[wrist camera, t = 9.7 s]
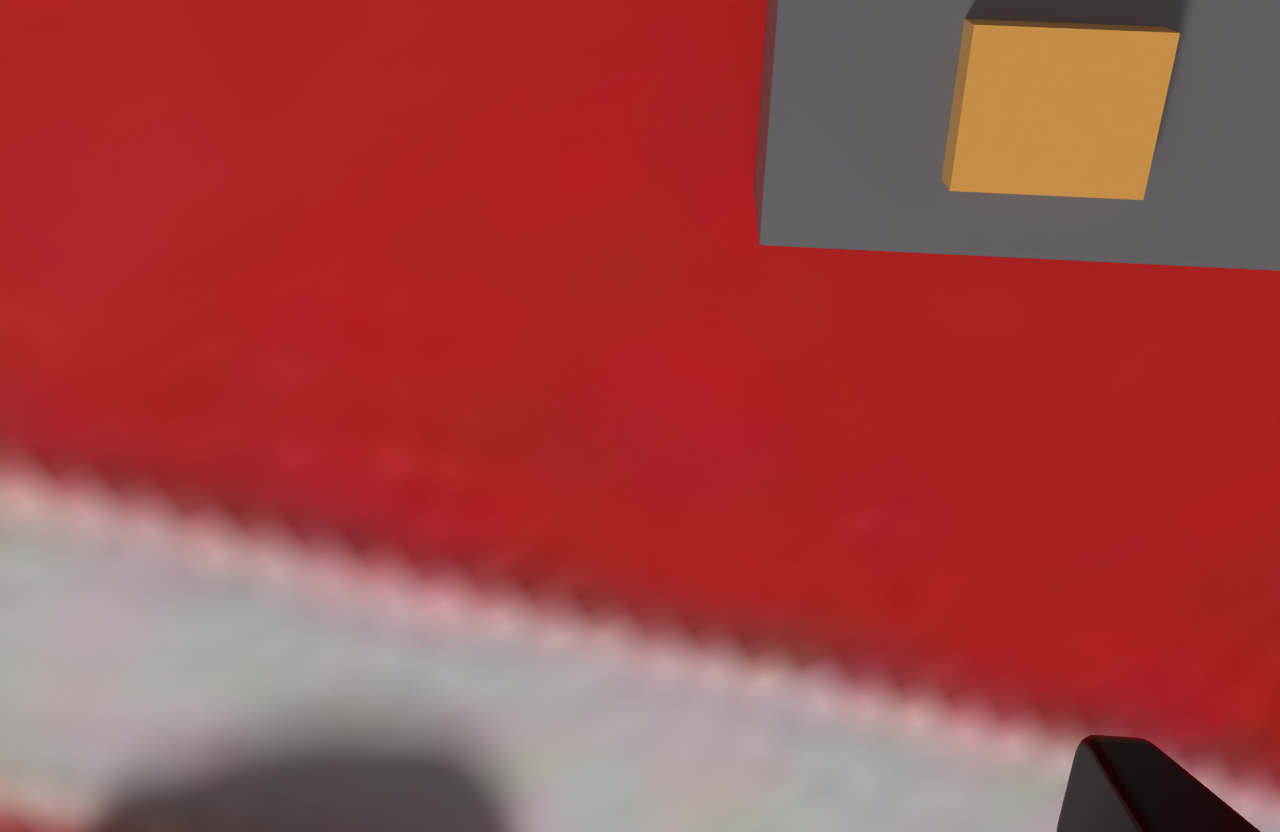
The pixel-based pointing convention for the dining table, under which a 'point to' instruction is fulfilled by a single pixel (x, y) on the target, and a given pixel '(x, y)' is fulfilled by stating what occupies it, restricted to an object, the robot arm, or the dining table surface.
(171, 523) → the dining table surface
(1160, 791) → the robot arm
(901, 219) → the power strip
